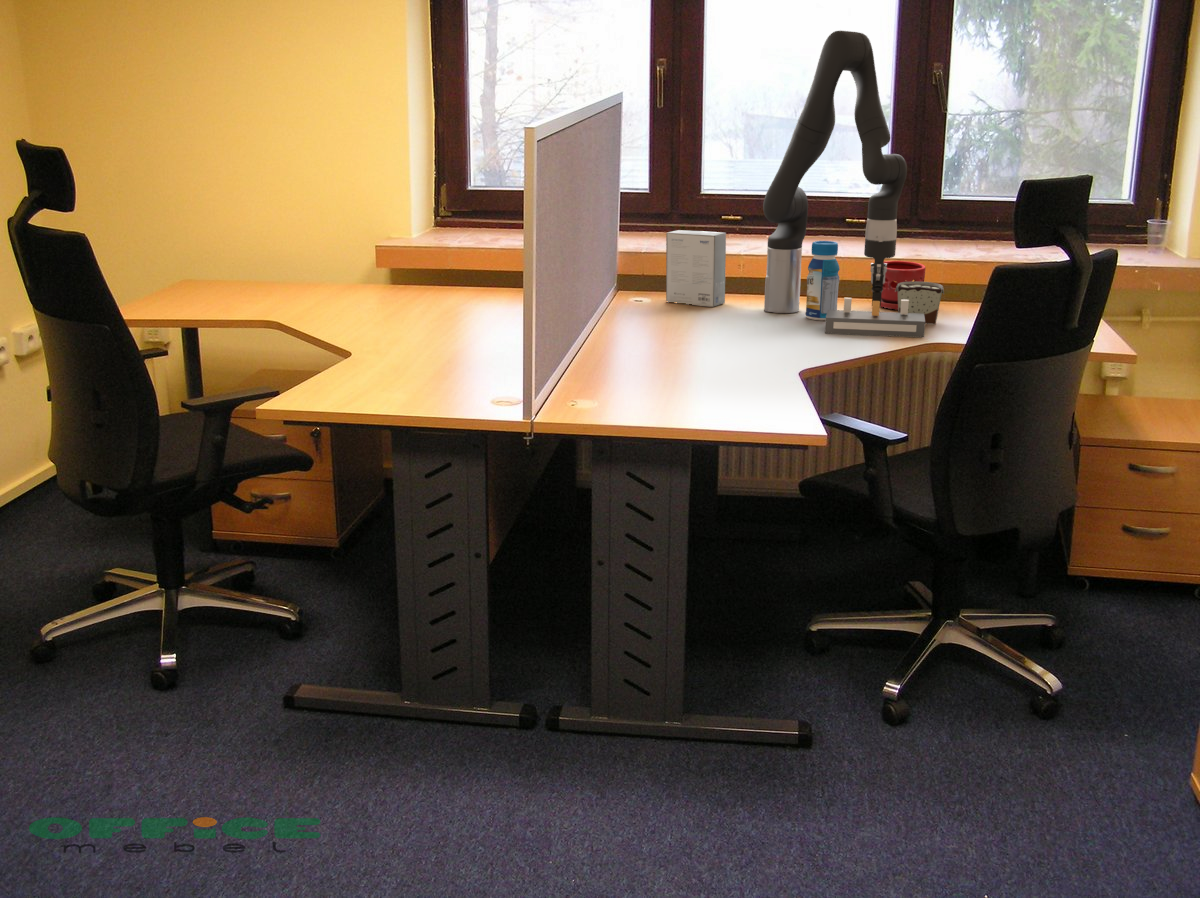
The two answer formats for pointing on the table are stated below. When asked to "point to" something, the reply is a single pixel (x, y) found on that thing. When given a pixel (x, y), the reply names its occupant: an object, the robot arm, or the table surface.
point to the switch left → (847, 304)
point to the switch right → (904, 307)
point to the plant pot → (899, 280)
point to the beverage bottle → (822, 280)
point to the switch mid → (875, 308)
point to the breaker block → (875, 323)
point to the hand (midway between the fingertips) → (876, 306)
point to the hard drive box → (695, 267)
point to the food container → (921, 298)
